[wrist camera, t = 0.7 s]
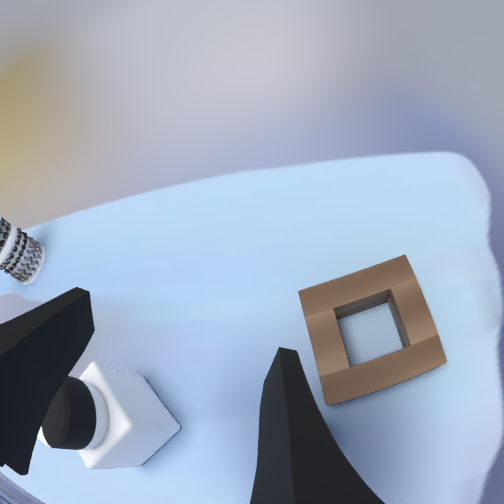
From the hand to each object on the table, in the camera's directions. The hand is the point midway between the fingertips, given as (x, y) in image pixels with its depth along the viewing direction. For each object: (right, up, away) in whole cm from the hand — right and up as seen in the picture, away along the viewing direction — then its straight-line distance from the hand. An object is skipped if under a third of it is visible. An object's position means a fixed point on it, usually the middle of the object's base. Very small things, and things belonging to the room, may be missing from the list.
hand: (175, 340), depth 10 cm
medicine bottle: (-8, -14, +14) cm, 21 cm away
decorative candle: (-39, 0, +35) cm, 52 cm away
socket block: (+12, -4, +12) cm, 17 cm away
